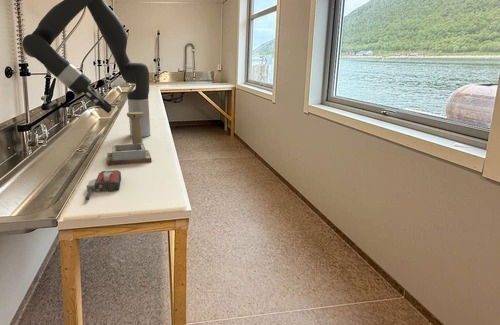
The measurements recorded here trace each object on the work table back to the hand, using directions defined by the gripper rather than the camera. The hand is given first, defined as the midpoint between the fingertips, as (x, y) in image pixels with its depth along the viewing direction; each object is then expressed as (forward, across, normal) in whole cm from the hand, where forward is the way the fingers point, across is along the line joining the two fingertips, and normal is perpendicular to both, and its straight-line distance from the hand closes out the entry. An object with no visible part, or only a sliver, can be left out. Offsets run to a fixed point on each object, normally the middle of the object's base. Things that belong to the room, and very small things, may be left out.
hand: (110, 109), depth 146 cm
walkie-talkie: (+10, -44, +14) cm, 47 cm away
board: (+15, -14, +8) cm, 22 cm away
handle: (+18, 0, +5) cm, 19 cm away
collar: (+14, -14, +7) cm, 21 cm away
